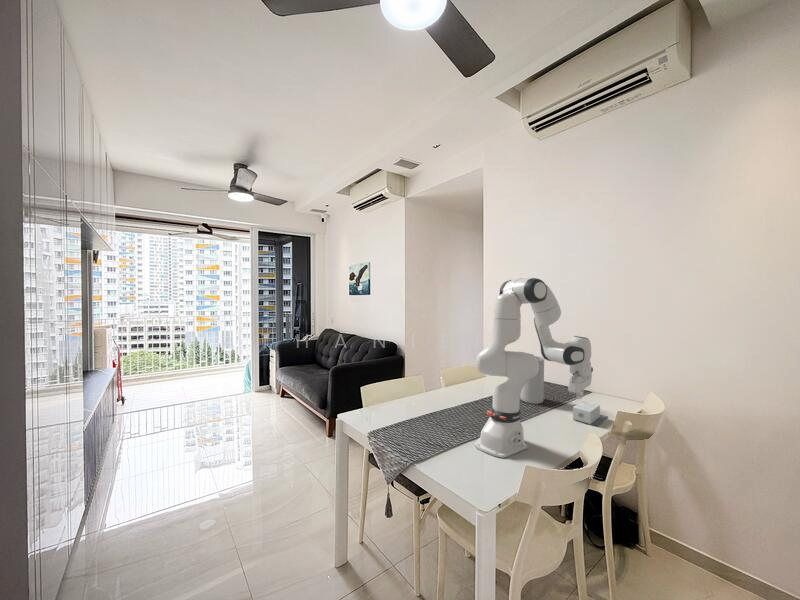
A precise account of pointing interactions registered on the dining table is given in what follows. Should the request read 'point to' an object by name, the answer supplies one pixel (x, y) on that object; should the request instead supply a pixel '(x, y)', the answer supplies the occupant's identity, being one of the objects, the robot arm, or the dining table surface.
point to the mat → (598, 420)
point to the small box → (586, 412)
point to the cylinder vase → (534, 386)
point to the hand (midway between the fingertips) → (579, 398)
